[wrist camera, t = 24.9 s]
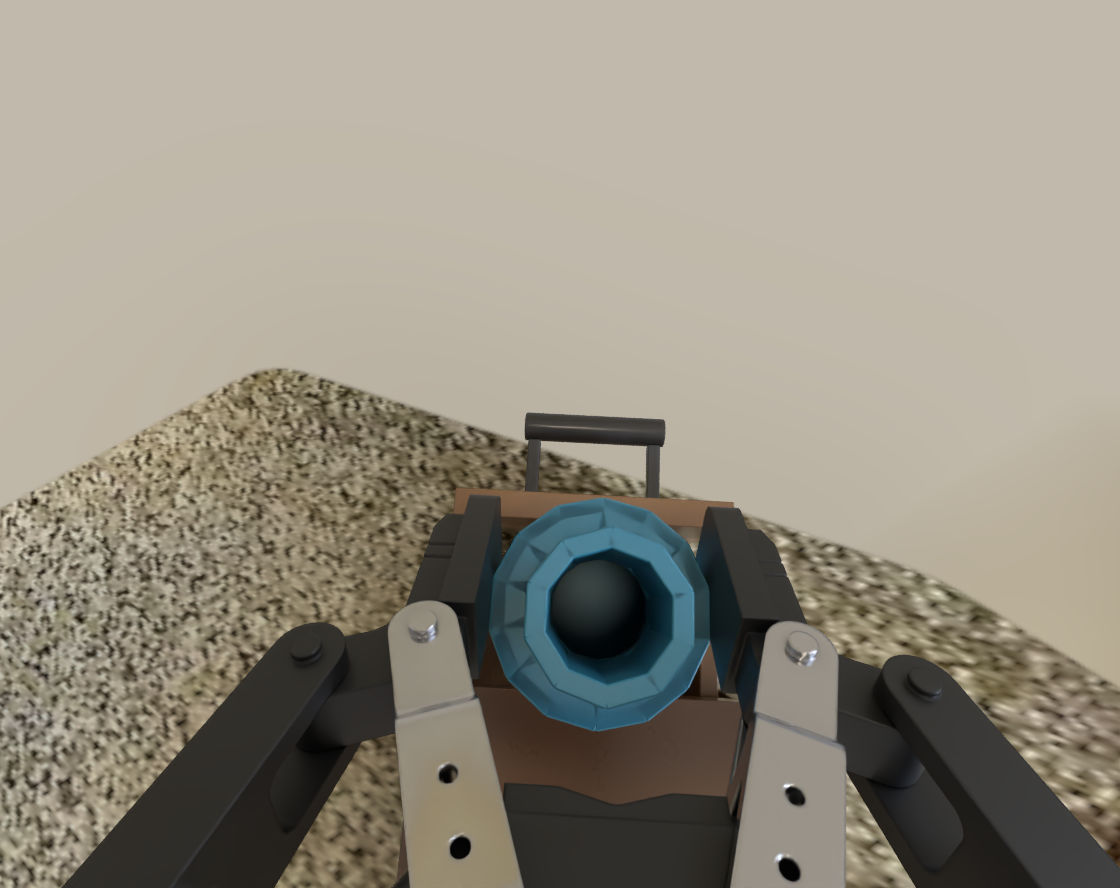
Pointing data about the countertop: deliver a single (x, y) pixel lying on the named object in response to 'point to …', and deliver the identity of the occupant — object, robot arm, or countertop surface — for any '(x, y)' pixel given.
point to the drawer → (533, 504)
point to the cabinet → (611, 749)
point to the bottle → (600, 614)
